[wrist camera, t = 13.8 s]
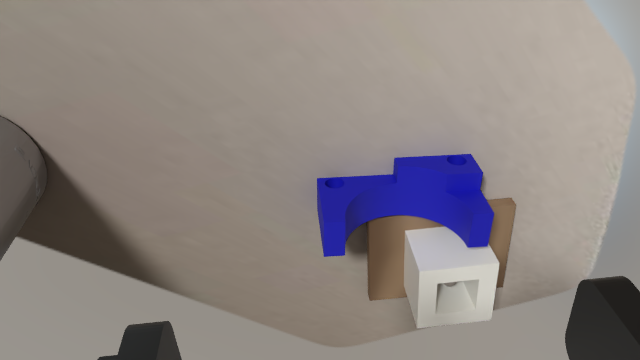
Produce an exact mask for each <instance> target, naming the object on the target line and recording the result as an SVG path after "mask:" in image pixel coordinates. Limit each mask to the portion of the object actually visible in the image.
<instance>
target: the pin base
mask: <svg viewBox="0 0 640 360" xmlns="http://www.w3.org/2000/svg"><path fill="white" fill-rule="evenodd" d="M487 202H488V204H489V205H490V207H491V208H492V210H493V212H494V217H493V222H492V227H491V232H490V237H489V242H488V243H489V245H490V247H491V249H492V250H493V252H494V254H495V256H496V258H497V260H498V261H499V270H498V277H497V284H496V288H498V287H503V281H504V275H505V269H506V263H507V257H508V250H509V244H510V238H511V232H512V226H513V220H514V214H515V208H516V204H515V202H514V201H513V200H512V198H504V199H494V200H487ZM435 227H445V226H444V225H442V224H440V223H437V222H435V221H432V220H429V219H425V218H421V217H416V216H408V215H391V216H384V217H379V218H375V219H372V220H370V221H367V259H368V295H369V299H370V301H372V300H381V299H391V298H401V297H407V294H406V291H405V287H404V253H405V231H406V230H416V229H425V228H435ZM456 283H457V282H449V283H443V284H444V285H446V286H448V287H452V286H454V285H455V284H456Z"/></svg>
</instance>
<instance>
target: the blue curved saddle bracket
mask: <svg viewBox="0 0 640 360" xmlns="http://www.w3.org/2000/svg"><path fill="white" fill-rule="evenodd" d="M482 176H483V172H482V170H481V169H480V167H479V166H478V164H477V163H476V161H475V160H474V158H473V157H472V155H471V154H462V155H442V156H422V157H402V158H395V159H394V172H393V175H374V176H354V177H335V178H317V205H318V217H319V224H320V231H321V239H322V246H323V253H324V257H326V256H342V255H345V243H346V241H347V238H348V237H349V235H350V234H351V233H352V231H354V230H355V229H356V228H357V227H358V226H360V225H361V224H363V223H365V222H367V221H370V220H372V219H375V218H379V217H384V216H391V215H408V216H416V217H421V218H425V219H429V220H432V221H435V222H437V223H440V224H442V225H444V226H445V227H447V228H449V229H450V230H452V231H453V232H455V233H456V234H457V235H458V236H459V237H460V238H461V239H462V240H463V241H464V243H465V244H466V246H467V248H472V247H488V242H489V237H490V232H491V227H492V222H493V217H494V212H493V210H492V208H491V207H490V205H489V204H488V202H487V200H486V199H485V197H484V195H483V194H482V192H481V191H480V187H481V181H482Z"/></svg>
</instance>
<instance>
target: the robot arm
mask: <svg viewBox="0 0 640 360" xmlns="http://www.w3.org/2000/svg"><path fill="white" fill-rule="evenodd" d="M46 184H47V169H46V165H45V161H44V158H43V156H42V155H41V153H40V151H39V149H38V147H37V146H36V145H35V143H34V142H33V141H32V140H31V138H30V137H29V136H28V135H27V134H26V133H24V132H23V131H22V130H21V129H20V128H19V127H18V126H16V125H14V124H13V123H11V122H10V121H8V120H7V119H5V118H3V117H1V116H0V260H1V259H2V257H3V256H4V254H5V253H6V251H7V249H8V248H9V246H10V245H11V243H12V241H13V240H14V239H15V237H16V236H17V234H18V232H19V231H20V229H21V228H22V226H23V225H24V223H25V222H26V220H27V218H28V217H29V215H30V214H31V212H32V210H33V209H34V207H35V206H36V204H37V202H38V201H39V199H40V198H41V196H42V195H43V193H44V191H45V187H46ZM565 343H566V349H567V353H568V356H569V359H570V360H640V292H639V290H638V289H637V288H636V287H635V286H634V284H633V283H632V282H631V281H630V280H629V279H628V278H626V277H623V276H616V277H606V278H597V279H587V280H582V281H581V282H580V283H579V285H578V288H577V292H576V295H575V300H574V303H573V307H572V311H571V315H570V318H569V322H568V326H567V329H566V334H565ZM98 360H182V359H181V356H180V352H179V349H178V346H177V342H176V339H175V335H174V332H173V328H172V326H171V324H170V322H169V321H164V322H154V323H144V324H135V325H129V326H128V327H127V328H126V330H125V332H124V335H123V339H122V342H121V345H120V348H119V352H118V355H114V356H104V357H99V359H98Z"/></svg>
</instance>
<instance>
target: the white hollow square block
mask: <svg viewBox="0 0 640 360" xmlns="http://www.w3.org/2000/svg"><path fill="white" fill-rule="evenodd" d="M498 270H499V261H498V260H497V258H496V256H495V254H494V252H493V250H492V249H491V247H490V245H489V243H488V247H472V248H467V246H466V244H465V243H464V241H463V240H462V239H461V238H460V237H459V236H458V235H457V234H456V233H455V232H453V231H452V230H450V229H449V228H447V227H435V228H425V229H416V230H406V231H405V253H404V287H405V291H406V294H407V297H408V300H409V304H410V307H411V310H412V313H413V317H414V320H415V323H416V326H417V328H426V327H435V326H444V325H453V324H462V323H471V322H480V321H488V320H491V317H492V311H493V304H494V298H495V291H496V284H497V277H498ZM449 282H457V283H456V284H455V285H454V286H452V287H448V286H446V285H444V284H443V283H449Z"/></svg>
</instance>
